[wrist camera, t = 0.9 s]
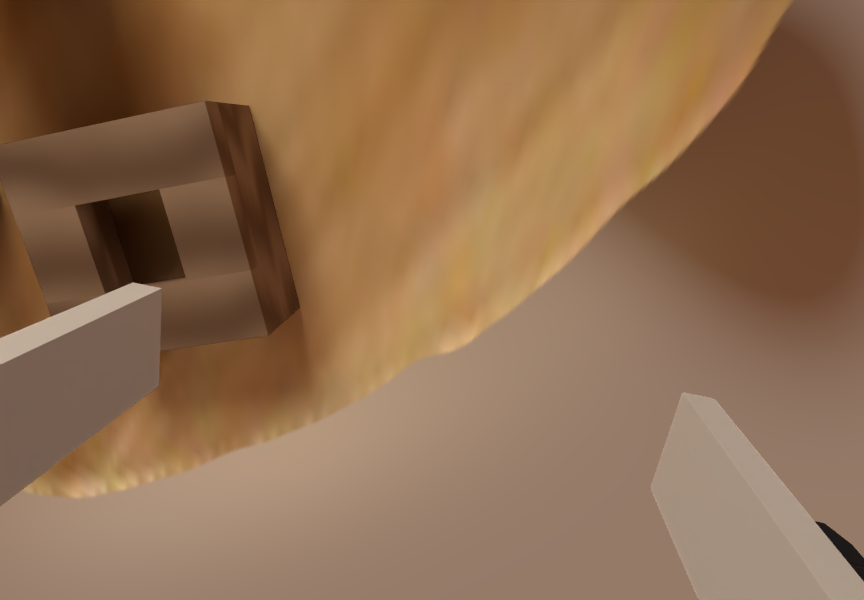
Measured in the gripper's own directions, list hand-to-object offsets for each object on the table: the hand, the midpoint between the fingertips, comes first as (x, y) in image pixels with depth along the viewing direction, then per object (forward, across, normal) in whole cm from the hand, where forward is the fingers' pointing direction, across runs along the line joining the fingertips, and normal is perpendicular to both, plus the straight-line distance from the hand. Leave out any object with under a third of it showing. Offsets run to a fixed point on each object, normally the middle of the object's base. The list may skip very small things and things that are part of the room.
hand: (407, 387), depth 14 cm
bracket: (+25, -19, -4) cm, 32 cm away
